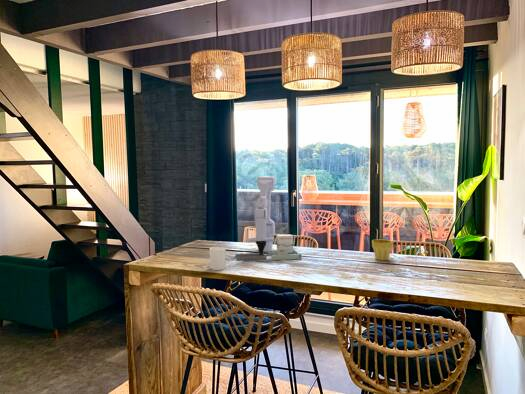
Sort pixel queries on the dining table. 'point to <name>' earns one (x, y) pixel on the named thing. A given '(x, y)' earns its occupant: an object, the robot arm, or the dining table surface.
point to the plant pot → (382, 248)
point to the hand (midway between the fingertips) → (261, 254)
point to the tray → (284, 255)
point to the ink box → (284, 244)
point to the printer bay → (248, 257)
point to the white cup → (217, 258)
